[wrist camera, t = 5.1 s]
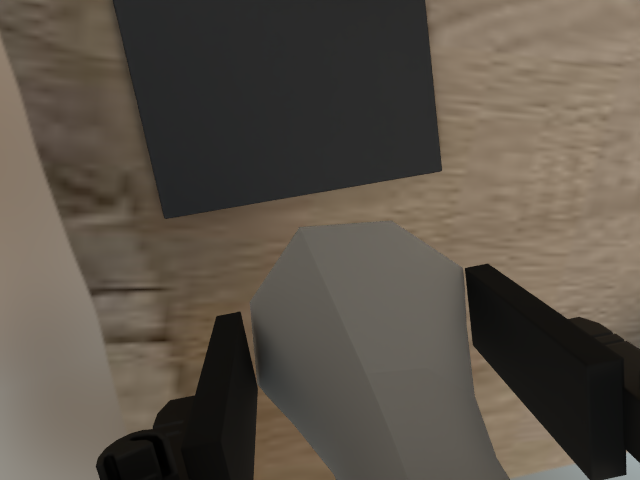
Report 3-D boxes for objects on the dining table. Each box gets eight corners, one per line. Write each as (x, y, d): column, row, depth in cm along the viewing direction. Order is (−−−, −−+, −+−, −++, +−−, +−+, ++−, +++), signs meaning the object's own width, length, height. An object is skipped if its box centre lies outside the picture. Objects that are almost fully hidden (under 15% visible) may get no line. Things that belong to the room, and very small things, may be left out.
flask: (278, 190, 16) (288, 313, 6) (494, 245, 17) (797, 426, 7) (224, 398, 17) (164, 764, 8) (425, 437, 18) (599, 802, 9)
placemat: (397, -229, 26) (401, -240, 25) (438, 170, 30) (442, 171, 30) (71, -189, 25) (65, -199, 24) (166, 216, 29) (164, 219, 29)
